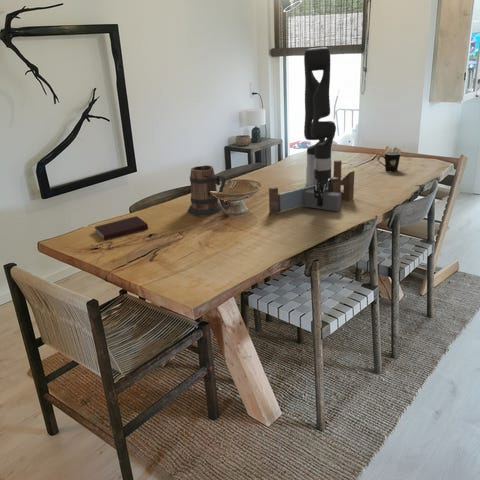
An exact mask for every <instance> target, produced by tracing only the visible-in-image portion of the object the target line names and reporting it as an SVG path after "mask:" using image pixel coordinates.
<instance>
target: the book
mask: <svg viewBox="0 0 480 480" xmlns="http://www.w3.org/2000/svg"><path fill="white" fill-rule="evenodd" d="M94 229H95V233H96V234H98V235H99V236H100V237H101V238H102V239H103V240H104V241H106V240H112V239H114V238H115V239H116V238H119V237H122V236H125V235H131V234H135V233H139V232H143V231H146V230H148V229H149V225H148V223H147V222H146V221H144V220H143V219H141V218H140V217H139V216H138V215H137V216H131V217H127V218H123V219H120V220H116V221H113V222H108V223H105V224H100V225H96V226H94Z"/></svg>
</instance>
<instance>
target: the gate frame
mask: <svg viewBox="0 0 480 480" xmlns="http://www.w3.org/2000/svg"><path fill="white" fill-rule="evenodd" d="M330 179H331V186H330V192H334V193H339V178H337V177H333V176H331V178H330ZM278 194H279V188H278V187H277V186H269V187H268V204H269V209H268V210H269V214H270V213H271V214H270V215H272V216H274V214H275V215H279V212H278Z"/></svg>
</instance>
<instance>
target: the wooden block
mask: <svg viewBox="0 0 480 480" xmlns="http://www.w3.org/2000/svg"><path fill="white" fill-rule="evenodd" d="M342 165H343V163H342V160H341V159H335V160H333V176H332V177H337V178H339V193H341V201H342V200H343V201H345V202H351V201H353V200H354V192H355V188H354V187H355V170H353V171H350V172H349V173H347V174H346V176H345V177H343V178H342ZM342 186H343V189H342Z"/></svg>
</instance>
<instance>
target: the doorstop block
mask: <svg viewBox="0 0 480 480" xmlns="http://www.w3.org/2000/svg"><path fill="white" fill-rule="evenodd" d="M303 206H304V207H306V208H312V209H320V210H325V211H333V212H338V211H339V210H341V209H342V199H341V193H334V192H326V191H324V193H323V204H322V206H318V205H317V198H315V195H314V190H311V189H308V190H307V191H305V192H304V205H303Z"/></svg>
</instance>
